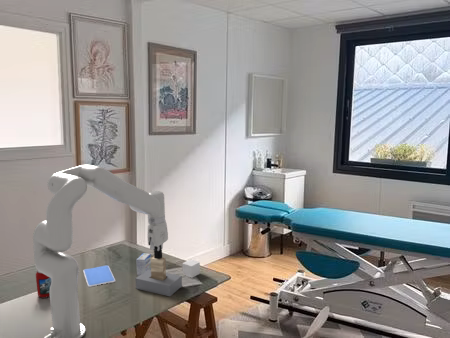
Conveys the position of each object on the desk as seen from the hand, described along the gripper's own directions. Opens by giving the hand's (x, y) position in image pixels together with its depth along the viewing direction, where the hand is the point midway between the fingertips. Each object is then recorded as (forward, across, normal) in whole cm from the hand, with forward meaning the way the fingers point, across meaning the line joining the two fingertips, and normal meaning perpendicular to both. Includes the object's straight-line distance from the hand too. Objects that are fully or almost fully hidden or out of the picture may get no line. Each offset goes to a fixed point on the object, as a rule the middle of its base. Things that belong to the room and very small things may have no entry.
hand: (158, 257), depth 187 cm
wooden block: (+12, 0, 0) cm, 12 cm away
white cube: (+15, +18, -7) cm, 24 cm away
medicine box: (+15, +10, +15) cm, 23 cm away
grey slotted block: (+14, 0, 0) cm, 14 cm away
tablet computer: (+15, -2, +33) cm, 36 cm away
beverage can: (+14, -26, +42) cm, 52 cm away
